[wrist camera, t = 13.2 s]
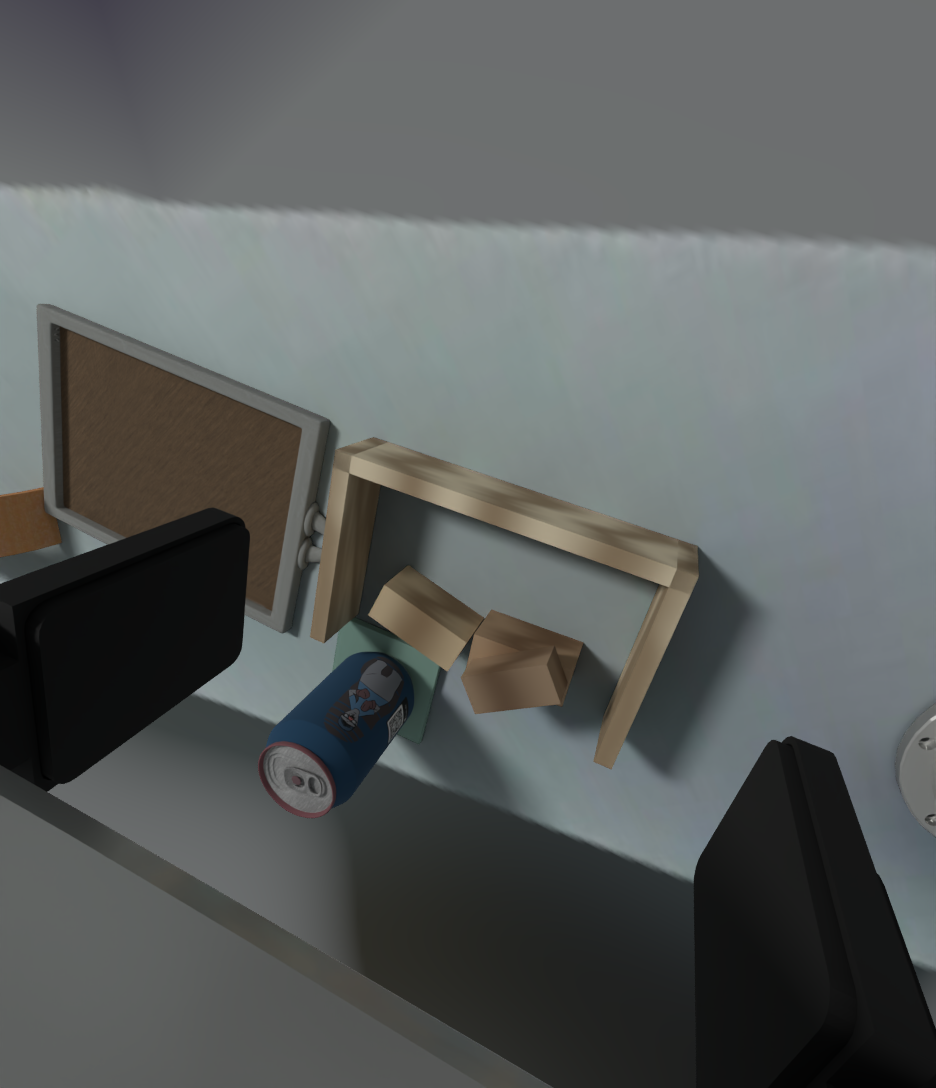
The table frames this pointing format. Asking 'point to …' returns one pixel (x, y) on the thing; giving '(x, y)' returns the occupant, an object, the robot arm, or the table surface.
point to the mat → (420, 667)
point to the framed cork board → (176, 452)
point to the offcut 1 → (425, 616)
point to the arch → (26, 523)
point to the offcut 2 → (522, 641)
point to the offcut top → (515, 680)
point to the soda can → (336, 734)
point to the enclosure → (515, 511)
